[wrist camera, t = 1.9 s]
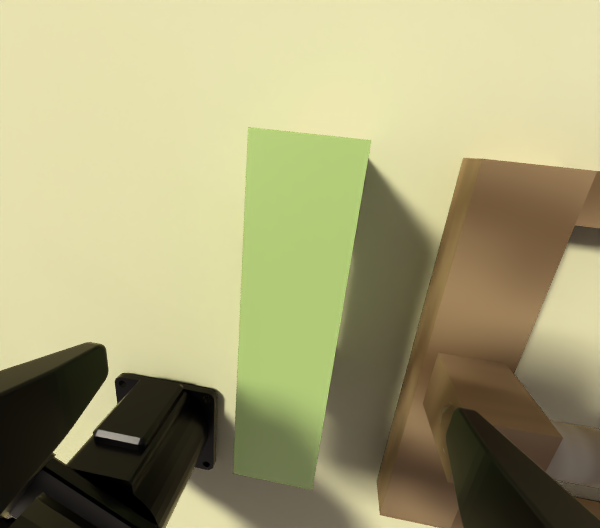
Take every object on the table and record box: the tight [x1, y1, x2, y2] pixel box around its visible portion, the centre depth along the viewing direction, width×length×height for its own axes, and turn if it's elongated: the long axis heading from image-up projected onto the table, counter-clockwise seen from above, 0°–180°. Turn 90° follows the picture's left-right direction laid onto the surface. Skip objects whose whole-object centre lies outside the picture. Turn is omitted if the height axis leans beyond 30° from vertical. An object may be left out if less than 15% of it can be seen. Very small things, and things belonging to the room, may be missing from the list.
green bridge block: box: [233, 127, 371, 490], centre depth 13 cm, size 12×3×7 cm, turn 174°
